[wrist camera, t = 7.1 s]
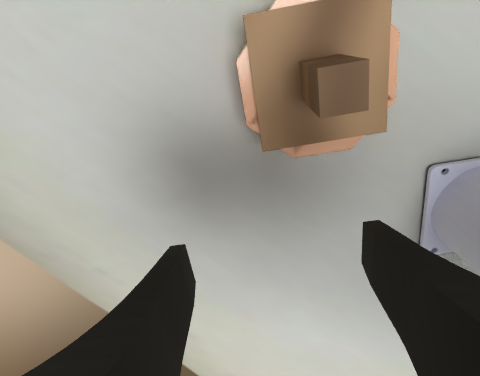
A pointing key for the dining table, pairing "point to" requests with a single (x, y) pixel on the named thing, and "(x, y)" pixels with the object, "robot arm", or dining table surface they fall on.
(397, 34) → the octagonal copper pot
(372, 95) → the lid
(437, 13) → the dining table surface
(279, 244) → the dining table surface
